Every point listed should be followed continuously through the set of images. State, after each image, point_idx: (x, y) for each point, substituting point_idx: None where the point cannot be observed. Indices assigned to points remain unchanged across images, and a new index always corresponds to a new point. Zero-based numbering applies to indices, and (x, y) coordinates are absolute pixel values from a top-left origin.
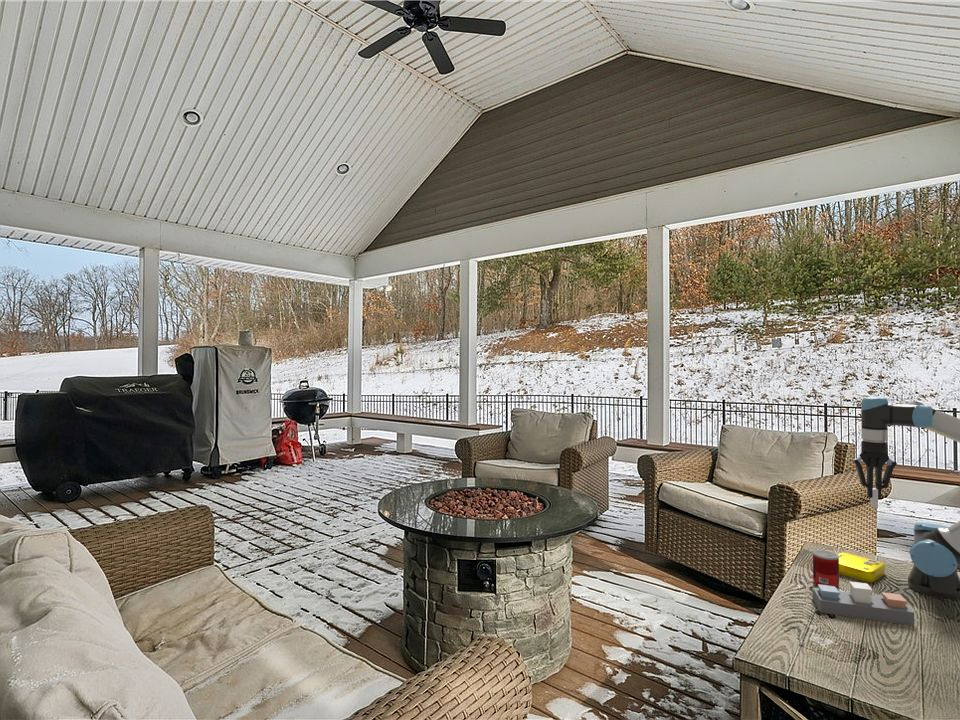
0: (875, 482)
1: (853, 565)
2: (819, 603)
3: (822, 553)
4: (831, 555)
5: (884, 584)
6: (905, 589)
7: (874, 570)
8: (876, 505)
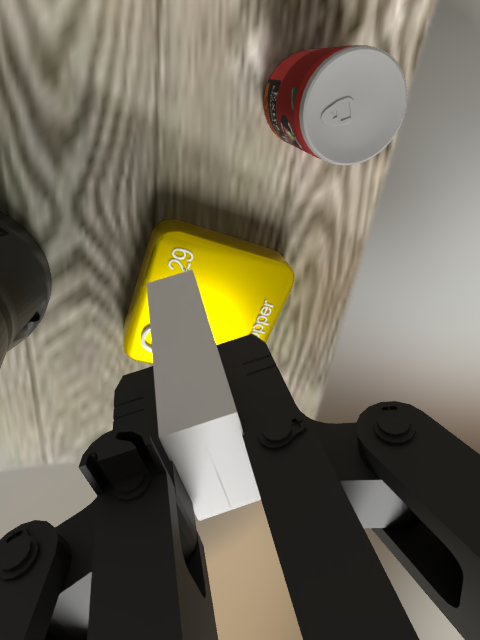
0: (212, 615)
1: (218, 266)
2: None
3: (364, 130)
4: (331, 117)
5: (118, 228)
6: (52, 220)
7: (151, 260)
8: (163, 291)
